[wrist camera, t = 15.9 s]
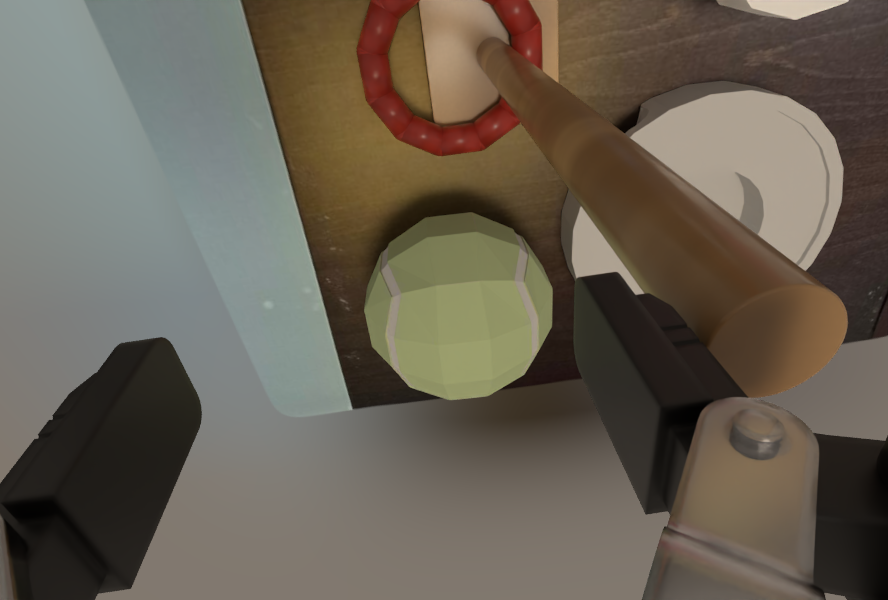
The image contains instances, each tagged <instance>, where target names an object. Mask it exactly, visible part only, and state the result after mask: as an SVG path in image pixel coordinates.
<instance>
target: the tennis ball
mask: <svg viewBox="0 0 888 600" xmlns="http://www.w3.org/2000/svg"><path fill="white" fill-rule="evenodd" d="M364 311H365V316H366V320H367V325H368V329H369V334H370V339H371V343H372V347H373V348H374V349H375V350H376V351H377V352H378V353H379V354H380V355H381V356H382V357H383V358H384V359H385V360H386V362H387V363H388V364H389V365H390V366H391V367H392V368H393V369H394V370H395V371H396V372H397V373H398V374H399V376H400V377H401V378H402V379H403V380H404V381H405V382H406V383H407V384H408V386H409V387H411V388H414V389H417V390H420V391H423V392H426V393H429V394H432V395H435V396H438V397H441V398H445V399H448V400H456V399H457V400H458V399H466V398H475V397H484V396H489V395H491V394H492V393H494V392H496V391H497V390H499V389H501V388H502V387H504V386H506V385H507V384H509V383H511V382H512V381H514V380H516V379H517V378H519V377H521V376H522V375H524V374H525V372H526V371H527V369H528V367H529V366H530V364H531V362H532V361H533V359H534V358H535V356H536V354H537V353H538V351H539V349H540V347H541V345H542V344H543V342H544V340H545V338H546V336H547V334H548V333H549V331H550V329H551V327H552V286H551V284H550V282H549V280H548V277H547V275H546V273H545V271H544V268H543V266H542V265H541V263H540V262H539V260H538V259H537V257H536V256H535V254H534V253H533V252H532V250H531V249H530V247H529V246H528V244H527V243H526V241H525V240H524V238H523V237H522V236H520V235H517V234H516V233H515V232H514V230H513V229H512V228H509V227H507V226H504V225H502V224H499V223H497V222H495V221H492V220H490V219H487V218H485V217H482V216H480V215H477V214H475V213H472V212H469V213H460V214H451V215H443V216H434V217H426V218H424V219H423V220H421V221H420V222H418V223H417V224H416V225H414V226H413V227H411V228H410V229H408V230H407V231H406V232H404V233H403V234H401V235H400V236H398V237H397V238H396V239H394V240H393V241H391V242H390V243H389V244H388V247H387V249H386V250H384V251H382V252H381V254H380V257H379V259H378V262H377V264H376V267H375V269H374V272H373V274H372V276H371V279H370V281H369V284H368V286H367V293H366V301H365V308H364Z"/></svg>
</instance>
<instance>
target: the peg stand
mask: <svg viewBox="0 0 888 600" xmlns="http://www.w3.org/2000/svg"><path fill="white" fill-rule="evenodd" d="M529 1H530V3H531V5H532V7H533V8H534V10H535V12H536V14H537V15H538V17H539V19H540V21H541V24H542V54H543V71H542V70H541V69H539V68H538V67H537V66H535V65H534V64H533V63H531V62H530V61H529V60H527V59H526V58H525V57H523V56H522V55H521V54H520V53H518V52H517V51H516V50H514V49H513V48H512V44H511V35H510V33H509V32H508V30H507V28H506V27H505V25H504V23H503V22H502V20H501V19H500V17H499V15H498V14H497V12H496V10H495V9H494V7H493V6H492V5H490V4H488V3H486V2H484V1H482V0H420V1H419V2H418V4H419V12H420V20H421V27H422V35H423V43H424V50H425V58H426V66H427V73H428V81H429V89H430V96H431V104H432V112H433V119H434V124H437V125H439V126H442V127H445V126H452V125H459V124H467V123H473V122H475V121H476V120H477V119H478V118H480V117H481V116H482V115H484V114H485V113H486V112H488V111H489V110H490V109H491V108H493V107H494V106H495V105H497V104H498V103H499V101H500V99H501V97H503V99H504V100H505V102H506V103H507V104H508V106H509V107H510V109H511V110H512V111H513V113H514V114H515V115H516V117H517V118H518V120H519V121H520V122H521V124H522V125H523V126H524V128H525V129H526V131H527V132H528V133H529V135H530V136H531V138H532V139H533V140H534V142H535V143H536V144H537V146H538V147H539V149H540V150H541V151H542V153H543V154H544V155H545V157H546V158H547V160H548V161H549V162H550V164H551V165H552V167H553V168H554V169H555V171H556V172H557V173H558V175H559V176H560V178H561V179H562V180H563V182H564V183H565V184H566V186H567V187H568V189H569V190H570V191H571V193H572V194H573V196H574V197H575V198H576V200H577V201H578V202H579V204H580V205H581V207H582V208H583V209H584V211H585V212H586V213H587V215H588V216H589V218H590V219H591V220H592V222H593V223H594V225H595V226H596V227H597V229H598V230H599V231H600V233H601V234H602V236H603V237H604V238H605V240H606V241H607V242H608V244H609V245H610V247H611V248H612V249H613V251H614V252H615V254H616V255H617V256H618V258H619V259H620V260H621V262H622V263H623V265H624V266H625V267H626V269H627V270H628V271H629V273H630V274H631V276H632V277H633V278H634V280H635V281H636V283H637V284H638V285H639V287H640V288H641V289H642V291H643V292H644V294H645V293H650V294H652V295H653V296H655V297H657V298H659V299H660V300H662V301H664V302H666V303H667V304H669V305H671V306H673V308H674V309H675V310H676V311H677V312H678V314H679V315H680V316H681V317H682V318H683V320H684V321H685V322H686V323H687V327H688V328H689V327H690V328H691V329H692V330H693V332H694V333H695V334H696V335H697V336H698V338H699V341H700V343H701V342H703V344H704V345H705V346H706V347H707V348H708V350H709V351H710V352H711V353H712V354H713V356H714V357H715V358H716V359H717V360H718V362H719V363H720V364H721V365H722V366H723V368H724V369H725V370H726V371H727V372H728V374H729V375H730V376H731V377H732V378H733V380H734V381H735V382H736V383H737V384H738V386H739V387H740V388H741V389H742V390H743V392H744V393H745V394H746V395H747V396H748V398H758V397H765V396H770V395H774V394H778V393H781V392H783V391H786V390H789V389H791V388H793V387H795V386H797V385H799V384H801V383H803V382H804V381H806V380H808V379H809V378H811V377H812V376H813V375H815V374H816V373H817V372H819V371H820V370H821V369H822V368H823V367H824V366H825V365H826V364H827V363H828V362H829V361H830V360H831V359H832V358H833V356H834V355H835V354H836V352H837V351H838V349H839V348H840V346H841V344H842V342H843V340H844V338H845V334H846V331H847V324H848V319H847V313H846V309H845V306H844V304H843V303H842V301H841V300H840V298H839V297H838V296H837V295H836V294H835V293H833V292H832V291H831V290H830V289H828V288H827V287H826V286H824V285H823V284H822V283H820V282H819V281H818V280H816V279H815V278H814V277H812V276H811V275H810V274H809V273H807V272H806V271H805V270H803V269H802V268H801V267H799V266H798V265H797V264H795V263H794V262H793V261H791V260H790V259H789V258H787V257H786V256H785V255H784V254H782V253H781V252H780V251H778V250H777V249H776V248H774V247H773V246H772V245H770V244H769V243H768V242H766V241H765V240H764V239H763V238H761V237H760V236H759V235H757V234H756V233H755V232H753V231H752V230H751V229H749V228H748V227H747V226H745V225H744V224H743V223H742V222H740V221H739V220H738V219H736V218H735V217H734V216H732V215H731V214H730V213H728V212H727V211H726V210H724V209H723V208H722V207H721V206H719V205H718V204H717V203H715V202H714V201H713V200H711V199H710V198H709V197H707V196H706V195H705V194H703V193H702V192H701V191H699V190H698V189H697V188H696V187H694V186H693V185H692V184H690V183H689V182H688V181H686V180H685V179H684V178H682V177H681V176H680V175H678V174H677V173H676V172H675V171H673V170H672V169H671V168H669V167H668V166H667V165H665V164H664V163H663V162H661V161H660V160H659V159H657V158H656V157H655V156H654V155H652V154H651V153H650V152H648V151H647V150H646V149H644V148H643V147H642V146H640V145H639V144H638V143H636V142H635V141H634V140H633V139H631V138H630V137H629V136H627V135H626V134H625V133H623V132H622V131H621V130H619V129H618V128H617V127H615V126H614V125H613V124H611V123H610V122H609V121H608V120H606V119H605V118H604V117H602V116H601V115H600V114H598V113H597V112H596V111H594V110H593V109H592V108H590V107H589V106H588V105H587V104H585V103H584V102H583V101H581V100H580V99H579V98H577V97H576V96H575V95H573V94H572V93H571V92H569V91H568V90H567V89H566V88H564V87H563V86H562V85H560V84H559V57H558V0H529Z"/></svg>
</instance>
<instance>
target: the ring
mask: <svg viewBox="0 0 888 600" xmlns="http://www.w3.org/2000/svg"><path fill="white" fill-rule="evenodd" d="M419 1H420V0H371V2H370V5H369V8H368V11H367V15H366V18H365V21H364V25H363V28H362V31H361V35H360V38H359V41H358V45H357V57H358V62H359V67H360V72H361V78H362V83H363V88H364V93H365V98H366V101H367V103H368V104H369V106H370V107H371V108H372V109H373V110H374V112H375V113H376V114H377V115H378V117H379V118H380V119H381V120H382V122H383V123H384V124H385V125H386V127H387V128H388V129H389V130H390V132H391V133H392V134H393V135H394V137H395V138H396V139H398V140H400V141H402V142H404V143H407V144H409V145H412V146H414V147H417V148H419V149H422V150H424V151H426V152H429V153H431V154H434V155H437V156H447V155H454V154H461V153H469V152H476V151H482V150H484V149H486V148H487V147H489V146H490V145H491V144H493V143H494V142H495V141H497V140H498V139H499V138H501V137H502V136H503V135H505V134H506V133H507V132H509V131H510V130H511V129H513V128H514V127H515V126H517V125H518V124H519V123H520V121H519V120H518V118H517V117H516V115H515V114H514V113H513V111H512V110H511V109H510V107H509V106H508V104H507V103H506V102H505V100H504V99H503V97H501V99H500V101H499V103H498V104H497V105H495V106H494V107H493V108H491V109H490V110H489V111H488V112H486V113H485V114H484V115H482V116H481V117H480V118H478V119H477V120H476V121H475V122H473V123H467V124H459V125H452V126H445V127H442V126H439V125H437V124H434V123H432V122H430V121H427V120H425V119H423V118H420V117H418V116H415V115H413V113H412V112H411V111H410V109H409V108H408V107H407V105H406V104H405V103H404V101H403V100H402V99H401V98H400V96H399V95H398V94H397V92H396V91H395V90H394V88H393V82H392V76H391V70H390V64H389V58H388V52H389V49H390V45H391V42H392V39H393V36H394V33H395V30H396V27H397V24H398V21H399V19H400V18H401V17H402V16H403V15H404V14H406V13H407V12H408V11H409V10H410V9H411V8H412V7H413V6H415V5H416V4H417V3H418V2H419ZM482 1H484V2H486V3H488V4H490V5H492V6H493V7H494V9H495V10H496V12H497V14H498V15H499V17H500V19H501V20H502V22H503V23H504V25H505V27H506V28H507V30H508V32H509V33H510V35H511V44H512V48H513V49H514V50H516V51H517V52H518V53H520V54H521V55H522V56H523V57H525V58H526V59H527V60H529V61H530V62H531V63H533V64H534V65H535V66H537V67H538V68H539V69H541V70H542V71H543V54H542V24H541V21H540V19H539V17H538V15H537V14H536V12H535V10H534V8H533V7H532V5H531V3H530V1H529V0H482Z"/></svg>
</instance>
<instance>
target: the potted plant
mask: <svg viewBox="0 0 888 600" xmlns="http://www.w3.org/2000/svg"><path fill="white" fill-rule="evenodd" d="M716 1H717V2H718V4H719V5H723V6H727V7H731V8H734V9H738V10H742V11H746V12H750V13H753V14H757V15H763V16H770V17H778V18H785V19H793V20H797V19H800V18H802V17H805V16H808V15H811V14H814V13H817V12H820V11H823V10H826V9H829V8H832V7H835V6H837V5H840V4H843V3H846V2H848V1H849V0H716Z"/></svg>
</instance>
